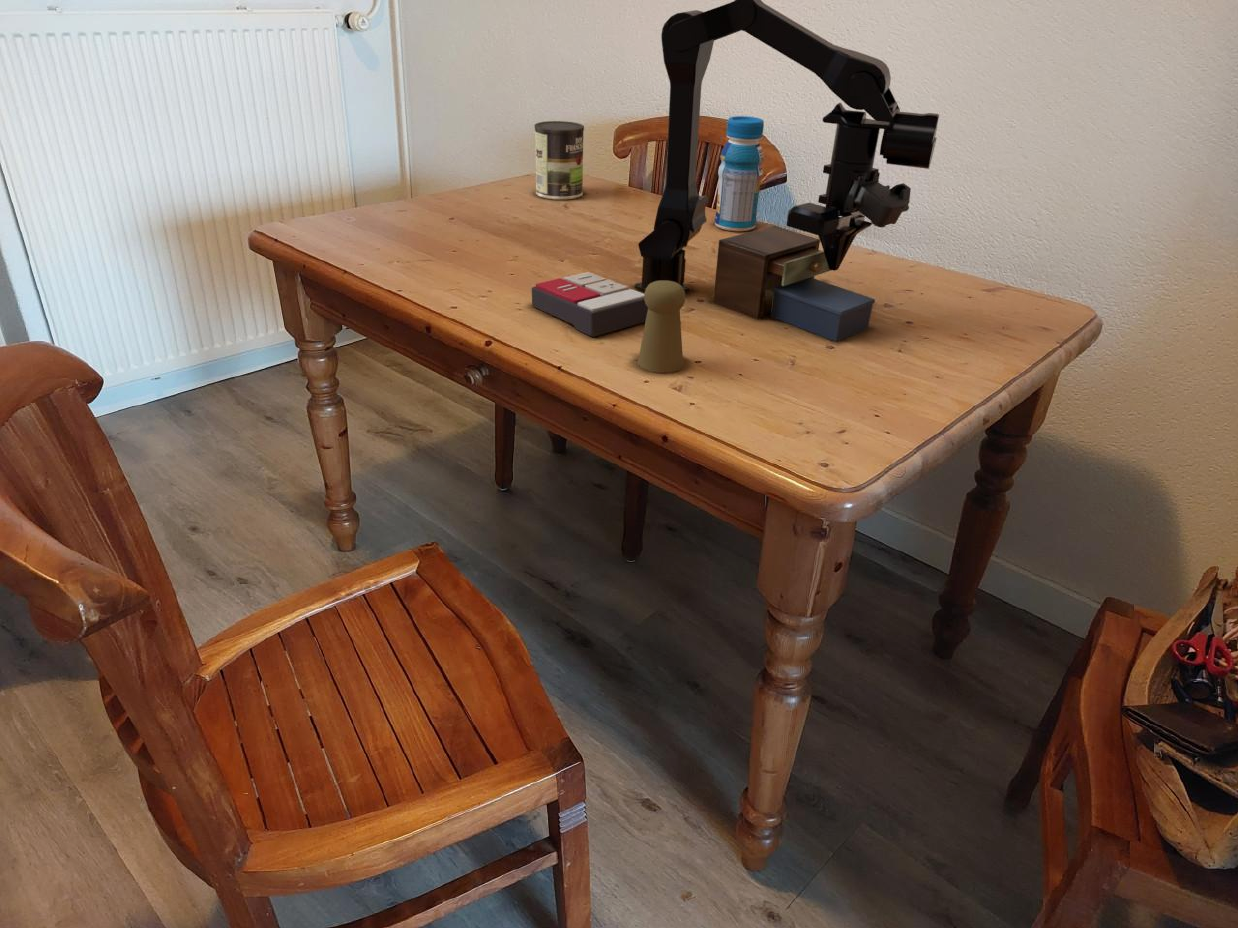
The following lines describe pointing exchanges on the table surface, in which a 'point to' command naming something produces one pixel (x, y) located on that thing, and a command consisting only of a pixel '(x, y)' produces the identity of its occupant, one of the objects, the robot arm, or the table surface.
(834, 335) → the storage box
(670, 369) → the olive pawn
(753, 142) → the beverage bottle
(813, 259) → the drawer
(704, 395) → the table surface
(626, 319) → the calculator
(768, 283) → the drawer unit
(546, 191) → the coffee can
